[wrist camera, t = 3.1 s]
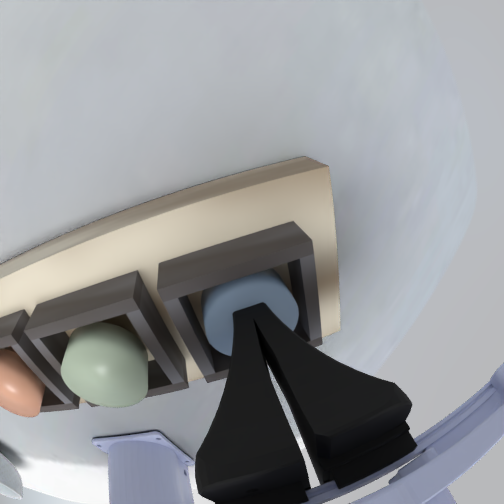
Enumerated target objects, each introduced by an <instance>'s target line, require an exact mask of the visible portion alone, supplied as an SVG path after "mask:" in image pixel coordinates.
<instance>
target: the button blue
mask: <svg viewBox="0 0 504 504" xmlns="http://www.w3.org/2000/svg"><path fill="white" fill-rule="evenodd" d="M261 302H264V303H266V304H267V306H268V307H269V308H270V309H271V310H272V312H273V313H274V314H275V315H276V316H277V317H278V318H279V319H280V320H281V321H282V322H283V323H284V324H285V325H287V326H288V327H289V328H290V329H291V330H292V331H294V329H295V327H296V324H297V321H298V316H299V311H298V306H297V303H296V301H295V299H294V298H293V296H292V294H291V293H290V291H289V289H288V288H287V286H286V285H285V283H284V281H283V280H282V278H281V277H280V275H279V274H278V273H277V272H276V271H275V270H274V269H272V268H270V269H267V270H264V271H261V272H258V273H255V274H251V275H248V276H245V277H242V278H239V279H236V280H233V281H230V282H227V283H224V284H220V285H217V286H214V287H211V288H208V289H205V290H203V292H202V296H201V308H202V314H203V320H204V326H205V331H206V336H207V339H208V341H209V342H210V344H211V345H212V346H213V347H214V348H215V349H216V350H218V351H219V352H221V353H223V354H225V355H228V356H231V354H232V345H233V316H232V314H233V312H234V311H237V310H240V309H243V308H246V307H249V306H252V305H255V304H258V303H261Z"/></svg>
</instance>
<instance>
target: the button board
mask: <svg viewBox="0 0 504 504" xmlns="http://www.w3.org/2000/svg"><path fill="white" fill-rule="evenodd" d="M270 268H272V269H274V270H275V271H276V272H277V273H278V274H279V275H280V277H281V278H282V280H283V281H284V283H285V285H286V286H287V288H288V289H289V291H290V293H291V294H292V296H293V298H294V299H295V301H296V303H297V306H298V311H299V316H298V321H297V324H296V327H295V329H294V331H293V332H295V333H296V334H297V335H298V336H299V337H301V338H302V339H303V340H305V341H306V342H307V343H309V344H310V345H312V346H313V347H317V346H319V345H322V338H323V337H326V336H328V335H331V334H333V333H336V332H338V331H340V296H339V273H338V255H337V241H336V228H335V217H334V207H333V197H332V188H331V180H330V172H329V166H327V165H325V164H322V163H320V162H318V161H315V160H313V159H311V158H308V157H306V156H304V157H300V158H296V159H292V160H287V161H283V162H279V163H275V164H271V165H267V166H263V167H260V168H256V169H252V170H248V171H245V172H241V173H238V174H234V175H230V176H227V177H224V178H220V179H217V180H213V181H210V182H207V183H203V184H200V185H197V186H194V187H191V188H187V189H184V190H181V191H178V192H175V193H172V194H169V195H166V196H163V197H160V198H157V199H154V200H152V201H149V202H146V203H143V204H140V205H137V206H135V207H132V208H129V209H127V210H124V211H121V212H118V213H116V214H113V215H111V216H108V217H105V218H103V219H100V220H98V221H95V222H93V223H90V224H88V225H85V226H83V227H81V228H78V229H76V230H73V231H71V232H69V233H66V234H64V235H62V236H60V237H57V238H55V239H53V240H50V241H48V242H46V243H44V244H42V245H39V246H37V247H35V248H33V249H31V250H29V251H27V252H25V253H23V254H20V255H18V256H16V257H14V258H12V259H10V260H8V261H6V262H4V263H2V264H0V349H1V348H2V349H7V350H10V351H12V352H15V353H17V354H18V355H19V356H20V357H21V359H22V360H23V361H24V362H25V363H26V364H27V365H28V367H29V368H30V369H31V370H32V371H33V372H34V373H35V374H36V375H37V376H38V378H39V379H40V380H41V381H42V382H43V383H44V384H45V385H46V386H45V391H44V395H43V399H42V403H41V407H40V412H52V411H62V410H72V409H79V403H86V402H87V403H88V404H89V405H90V406H91V407H95V406H100V405H96V404H94V403H91V402H88V401H86V400H84V399H82V398H81V397H79V396H78V395H76V394H75V393H74V392H72V391H71V390H70V389H69V388H68V386H67V385H66V384H65V382H64V380H63V378H62V376H61V366H62V362H63V358H64V355H65V352H66V348H67V345H68V342H69V338H70V336H71V334H72V332H73V331H74V330H75V329H76V328H78V327H82V326H85V325H89V324H92V323H95V322H103V323H110V324H114V325H117V326H120V327H122V328H124V329H126V330H128V331H130V332H131V333H133V334H134V335H135V336H136V337H138V338H139V339H140V340H141V342H142V343H143V344H144V346H145V348H146V350H147V353H148V392H147V394H146V396H145V398H147V397H152V396H156V395H161V394H165V393H170V392H174V391H178V390H182V389H186V388H189V386H188V382H190V381H194V380H198V379H201V378H205V379H206V381H207V383H209V382H213V381H216V380H220V379H223V378H227V377H228V372H229V367H230V361H231V356H228V355H225V354H223V353H221V352H219V351H218V350H216V349H215V348H214V347H213V346H212V345H211V344H210V342H209V341H208V339H207V336H206V331H205V326H204V320H203V314H202V308H201V296H202V292H203V290H205V289H208V288H211V287H214V286H217V285H220V284H224V283H227V282H230V281H233V280H236V279H239V278H242V277H245V276H248V275H251V274H255V273H258V272H261V271H264V270H267V269H270ZM266 362H267V361H266ZM267 365H268V363H267Z"/></svg>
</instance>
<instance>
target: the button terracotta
mask: <svg viewBox="0 0 504 504" xmlns="http://www.w3.org/2000/svg"><path fill="white" fill-rule="evenodd" d="M45 386H46V385H45V384H44V383H43V382H42V381H41V380H40V379H39V378H38V376H37V375H36V374H35V373H34V372H33V371H32V370H31V369H30V368H29V367H28V365H27V364H26V363H25V362H24V361H23V360H22V359H21V357H20V356H19V355H18V354H17V353H15V352H12V351H10V350H7V349H2V348H1V349H0V406H1V407H3V408H4V409H6V410H8V411H10V412H12V413H14V414H17V415H20V416H24V417H35V416H37V415H38V414H39V412H40V407H41V403H42V399H43V395H44V391H45Z"/></svg>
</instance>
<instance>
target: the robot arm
mask: <svg viewBox="0 0 504 504" xmlns="http://www.w3.org/2000/svg"><path fill="white" fill-rule="evenodd" d="M232 316H233V345H232V354H231V361H230V367H229V372H228V377H227V381H226V385H225V389H224V392H223V395H222V398H221V401H220V404H219V407H218V410H217V413H216V415H215V417H214V420H213V422H212V424H211V427H210V429H209V431H208V433H207V435H206V437H205V439H204V441H203V443H202V445H201V447H200V448H199V450H198V452H197V454H196V461H195V462H194V460H192V459H191V458H190V457H188V456H187V455H186V454H185V453H183V452H182V451H181V450H180V449H178V448H177V447H176V446H175V445H174V444H173V443H171V442H170V441H169V440H168V439H167V438H166V437H164V436H163V435H162V434H161V433H160V432H156V431H154V432H148V433H141V434H134V435H126V436H118V437H108V438H97V439H92V444H94V445H95V446H96V447H98V448H99V449H101V450H102V451H104V452H105V453H107V454H108V475H109V502H110V504H194V500H193V495H192V490H191V484H190V479H189V473H188V467H187V466H191V465H194V464H195V478H196V484H197V489H198V493H199V494H200V495H201V496H202V497H204V498H206V499H209V500H211V501H213V502H215V504H322V503H325V502H327V501H330V500H333V499H335V498H338V497H340V496H342V495H345V494H347V493H349V492H351V491H354V490H356V489H358V488H360V487H362V486H365V485H367V484H369V483H371V482H373V481H375V480H377V479H379V478H380V477H382V476H384V475H386V474H388V473H390V472H392V471H393V470H395V469H397V468H399V467H400V466H402V465H404V464H405V463H407V462H409V461H410V460H412V459H414V458H415V457H417V456H418V455H420V454H421V455H420V456H418V457H417V458H415V459H414V460H413V461H411V462H410V463H408V464H407V465H405V466H404V467H403V468H401V469H400V470H399V471H398V473H397V474H396V475H395V476H394V477H393V478H392V479H390V480H389V485H388V486H386V487H384V488H382V489H380V490H378V491H376V492H374V493H372V494H369V495H367V496H365V497H363V498H361V499H359V500H356V501H354V502H352V503H349V504H457V503H456V501H455V500H454V498H453V496H452V495H451V493H450V491H449V490H448V488H447V487H448V486H449V485H450V484H451V483H453V482H454V481H456V480H457V479H458V478H459V477H460V476H461V475H463V474H464V473H465V472H466V471H467V470H469V469H470V468H471V467H472V466H473V465H474V464H476V463H477V462H478V461H479V460H480V459H481V458H482V457H483V456H484V455H485V454H486V453H487V452H488V451H489V450H490V449H491V448H492V447H493V446H494V445H495V444H496V443H497V442H498V441H499V440H500V439H501V438H502V437H503V436H504V363H503V364H502V365H501V366H500V367H499V368H498V369H497V370H496V371H495V373H494V374H493V376H492V377H491V379H490V381H489V382H488V383H487V384H486V385H485V386H484V387H483V388H482V389H480V390H479V391H478V392H477V393H476V394H474V395H473V396H472V397H471V398H470V399H468V400H467V401H466V402H465V403H464V404H462V405H461V406H460V407H459V408H457V409H456V410H455V411H453V412H452V413H451V414H449V415H448V416H447V417H445V418H444V419H443V420H441V421H440V422H438V423H437V424H436V425H434V426H433V427H431V428H430V429H428V430H427V431H425V432H424V433H422V434H421V435H419V436H418V437H416V438H414V439H413V438H412V436H411V434H410V433H409V429H410V428H409V426H408V424H407V423H406V421H405V420H406V418H407V417H408V415H409V413H410V411H411V407H412V403H411V401H410V399H409V398H408V397H407V395H406V394H405V393H404V392H403V391H402V390H401V389H400V388H399V387H398V386H397V385H396V384H395V383H393V382H389V381H386V380H382V379H379V378H376V377H373V376H370V375H368V374H365V373H362V372H360V371H357V370H355V369H353V368H351V367H349V366H347V365H344V364H342V363H340V362H338V361H336V360H334V359H333V358H331V357H329V356H327V355H326V354H324V353H322V352H321V351H319V350H318V349H316V348H315V347H313V346H312V345H310V344H309V343H307V342H306V341H305V340H303V339H302V338H301V337H299V336H298V335H297V334H296V333H295V332H293V331H292V330H291V329H290V328H289V327H288V326H287V325H285V324H284V323H283V322H282V321H281V320H280V319H279V318H278V317H277V316H276V315H275V314H274V313H273V312H272V310H271V309H270V308H269V307H268V306H267V304H266V303H264V302H261V303H258V304H255V305H252V306H249V307H246V308H243V309H240V310H237V311H234V312H233V314H232ZM266 361H267V362H266ZM267 363H268V365H269V367H270V369H271V371H272V373H273V375H274V377H275V379H276V381H277V383H278V385H279V387H280V389H281V391H282V392H283V394H284V396H285V398H286V400H287V403H288V405H289V407H290V409H291V412H292V414H293V417H294V419H295V422H296V424H297V427H298V429H299V432H300V434H301V437H302V439H303V442H304V444H305V447H306V449H307V452H308V454H309V457H310V459H311V462H312V464H313V467H314V469H315V472H316V474H317V477H318V480H319V482H320V486H317V487H314V488H312V489H311V487H310V483H309V479H308V478H309V477H308V473H307V469H306V465H305V461H304V458H303V456H302V453H301V451H300V448H299V446H298V443H297V441H296V439H295V436H294V434H293V432H292V430H291V427H290V425H289V423H288V420H287V418H286V416H285V413H284V411H283V408H282V406H281V404H280V401H279V399H278V396H277V394H276V391H275V389H274V386H273V384H272V381H271V378H270V374H269V370H268V366H267Z"/></svg>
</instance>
